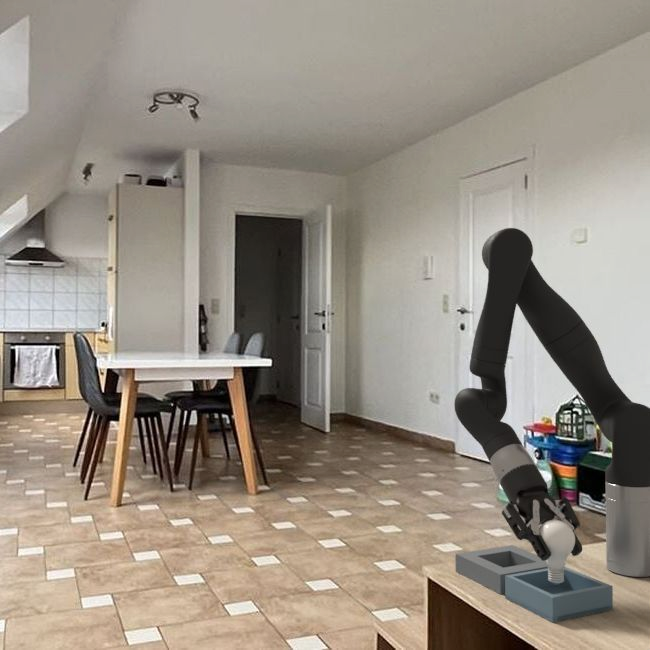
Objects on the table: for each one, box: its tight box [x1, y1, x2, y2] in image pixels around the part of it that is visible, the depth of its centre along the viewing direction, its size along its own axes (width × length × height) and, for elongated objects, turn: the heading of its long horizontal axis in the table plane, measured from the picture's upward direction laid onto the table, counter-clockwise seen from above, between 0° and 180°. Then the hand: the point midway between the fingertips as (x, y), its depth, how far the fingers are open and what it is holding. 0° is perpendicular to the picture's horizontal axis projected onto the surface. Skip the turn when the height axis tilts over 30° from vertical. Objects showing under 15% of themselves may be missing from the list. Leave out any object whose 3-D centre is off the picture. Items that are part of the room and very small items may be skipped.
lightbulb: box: [539, 519, 575, 585], centre depth 125 cm, size 6×6×11 cm
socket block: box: [455, 544, 548, 595], centre depth 138 cm, size 14×14×4 cm
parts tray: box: [504, 566, 614, 623], centre depth 124 cm, size 13×12×4 cm
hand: (562, 555), depth 123 cm, fingers closed on lightbulb, 6 cm apart
